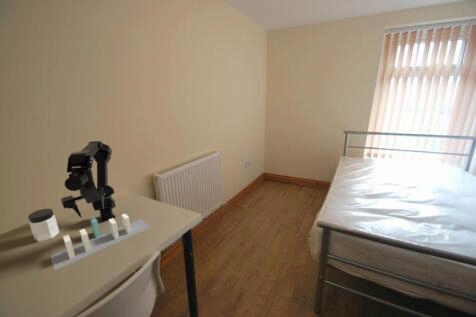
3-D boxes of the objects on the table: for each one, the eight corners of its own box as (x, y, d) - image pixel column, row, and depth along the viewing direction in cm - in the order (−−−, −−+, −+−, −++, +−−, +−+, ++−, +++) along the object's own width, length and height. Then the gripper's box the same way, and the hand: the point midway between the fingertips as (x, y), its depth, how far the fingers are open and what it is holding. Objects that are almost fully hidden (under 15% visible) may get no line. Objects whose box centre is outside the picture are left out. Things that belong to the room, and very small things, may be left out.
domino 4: (115, 239, 95) (112, 224, 93) (111, 234, 98) (108, 219, 96) (119, 237, 96) (116, 222, 94) (115, 232, 99) (112, 218, 97)
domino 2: (86, 251, 87) (82, 235, 85) (83, 246, 90) (79, 230, 88) (91, 249, 88) (87, 233, 86) (88, 244, 92) (84, 228, 89)
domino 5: (127, 233, 99) (125, 219, 96) (123, 229, 102) (121, 214, 100) (131, 232, 100) (129, 217, 98) (127, 227, 103) (125, 213, 101)
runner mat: (50, 256, 85) (50, 255, 85) (141, 219, 111) (141, 218, 111) (54, 271, 78) (54, 270, 78) (151, 227, 104) (151, 227, 104)
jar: (48, 241, 94) (41, 218, 90) (29, 242, 93) (21, 218, 90) (63, 229, 102) (57, 207, 99) (46, 229, 102) (39, 208, 98)
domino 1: (69, 259, 83) (65, 242, 81) (67, 253, 87) (62, 236, 84) (75, 256, 85) (70, 240, 82) (72, 250, 88) (68, 234, 86)
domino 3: (96, 237, 96) (92, 222, 94) (93, 233, 99) (89, 218, 97) (100, 235, 97) (97, 220, 95) (97, 231, 100) (94, 217, 99)
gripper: (62, 194, 79) (71, 229, 83) (115, 179, 92) (121, 211, 96) (56, 185, 86) (65, 218, 90) (107, 173, 99) (112, 203, 104)
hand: (92, 212), depth 95 cm, fingers open, 9 cm apart
